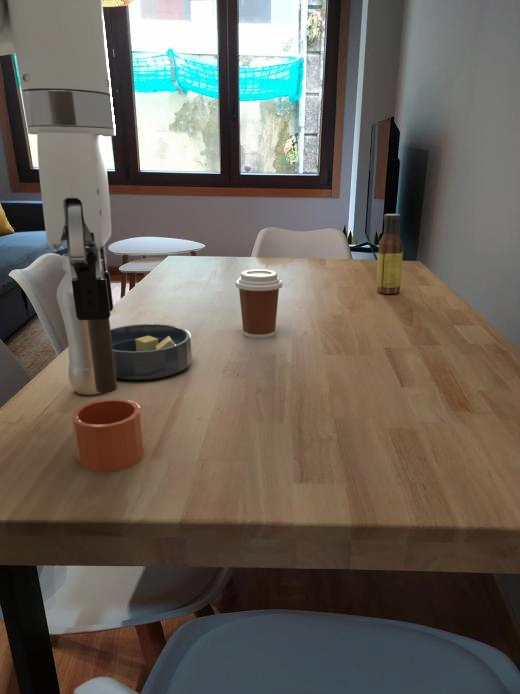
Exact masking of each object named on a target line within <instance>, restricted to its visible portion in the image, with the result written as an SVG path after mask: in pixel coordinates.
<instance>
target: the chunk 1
mask: <svg viewBox="0 0 520 694" xmlns="http://www.w3.org/2000/svg"><path fill="white" fill-rule="evenodd" d="M135 342H136V351H150V350H157V349H156V345H158V344H159V343H158V339H157V338H154V337H151V336H145V337H141V338H137V339H135Z"/></svg>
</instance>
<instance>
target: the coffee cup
mask: <svg viewBox="0 0 520 694" xmlns="http://www.w3.org/2000/svg"><path fill="white" fill-rule="evenodd" d="M235 288H237V289H238V293H239V302H240V312H241V313H240V314H241V321H242V322H241V323H242V333H243V335H244V336H245V337H249V338H254V339H255V338H256V339H257V338H258V339H262V338H269V337H273V336H275V334H276V325H277V315H278V314H277V313H278V305H279V304H278V303H279V294H280V293H279V292H280V289H281V288H283V280H281V279H280V278H279V277H278V273H277V272H276V271H274V270H269V269H249V270H248V269H247V270H244V271H242V272H241V273H240V277H239V278H238V279H236V281H235Z"/></svg>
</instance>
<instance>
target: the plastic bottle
mask: <svg viewBox="0 0 520 694" xmlns="http://www.w3.org/2000/svg"><path fill="white" fill-rule="evenodd" d="M61 257H62V270H63V271H65V274H64V276H63V277H62V279H61V281H60V283H59V285H58V286H57V290H56V301H57V303H58V308H59V311H60V314H61V318H62V320H63V324H64V329H65V333H66V338H67V345H68V348H67V349H68V361H69V362H68V380H69V384H70V387H71V388H72V390H73V391H74V392H75V393H77V394H79V395H81V396H95V395H101V394H102V393H101V392H97V391H96V386H95V378H94V370H93V363H92V355H91V347H90V340H89V332H88V324H87V320H79V319H78V318H77V316H76V309H75V302H74V295H73V288H72V276H71V269H70V261H69V254H68V253H64V254H62V255H61ZM115 374H116V373H115Z"/></svg>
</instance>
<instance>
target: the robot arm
mask: <svg viewBox="0 0 520 694" xmlns="http://www.w3.org/2000/svg"><path fill="white" fill-rule="evenodd" d="M105 27H106V26H105V18H104V6H103V0H0V57H3V56H8V55H9V56H10V55H15V60H16V65H17V72H18V78H19V84H20V85H19V86H20V90H21V91H20V92H21V96H22V103H23V109H24V116H25V122H26V130H27V134H29V135H37V136H36V137H37V138H36V144H37V148H36V149H37V162H38V175H39V185H40V195H41V202H42V211H43V220H44V221H43V222H44V229H45V238H46V243H47V245H48V247H49V248H51V250H54V251H55V250H57V251H58V250H59V249H60V248H62V247H63V246H64V245H65V244H66V247H67V254H69V261H70V269H71V276H72V288H73V295H74V302H75V309H76V316H77V318H78V319H79V320H99V319H108V318H109V319H110V317H111V312H112V311H113V309H114V302H113V301H114V300H113V293H112V292H113V291H112V284H111V274H110V272H108V261H107V260H108V259H107V252H106V243H108V242H109V240H110V238H111V236H112V215H111V214H112V213H111V201H110V198H111V197H110V189H109V178H108V169H107V161H106V151H105V145H104V144H105V143H104V137H116V135H117V134H116V124H115V115H114V107H113V97H112V87H111V86H112V85H111V77H110V76H111V75H110V67H109V57H108V47H107V37H106V36H107V35H106V28H105ZM101 259H102V260H103V269H104V278H105V279H103V273H102V264H101Z"/></svg>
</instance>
